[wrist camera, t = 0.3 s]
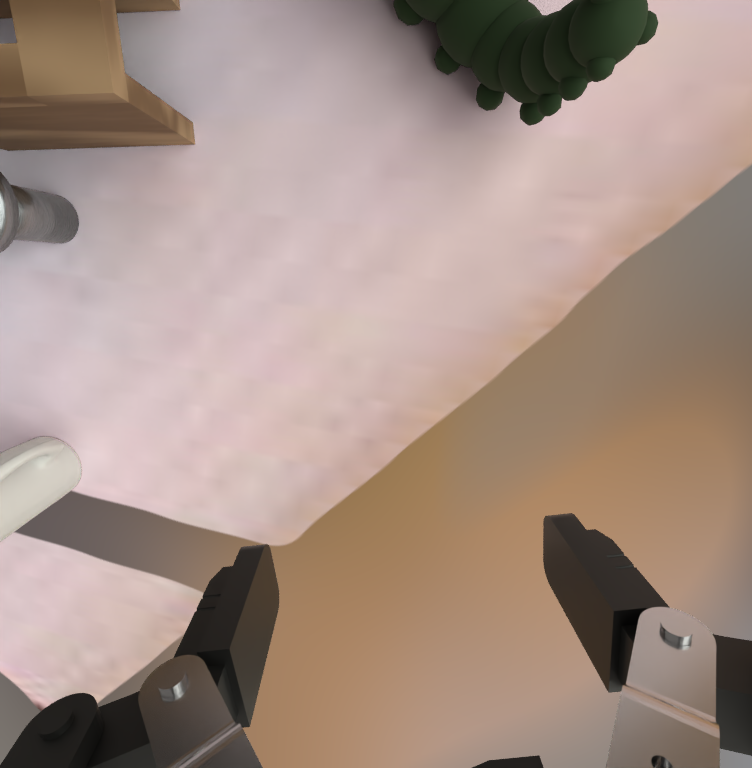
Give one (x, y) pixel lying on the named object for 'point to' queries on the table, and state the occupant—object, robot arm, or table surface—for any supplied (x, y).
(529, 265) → the table surface
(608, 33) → the toy figurine
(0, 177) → the pin
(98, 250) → the table surface
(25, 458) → the mug
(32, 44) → the wooden block with hole
